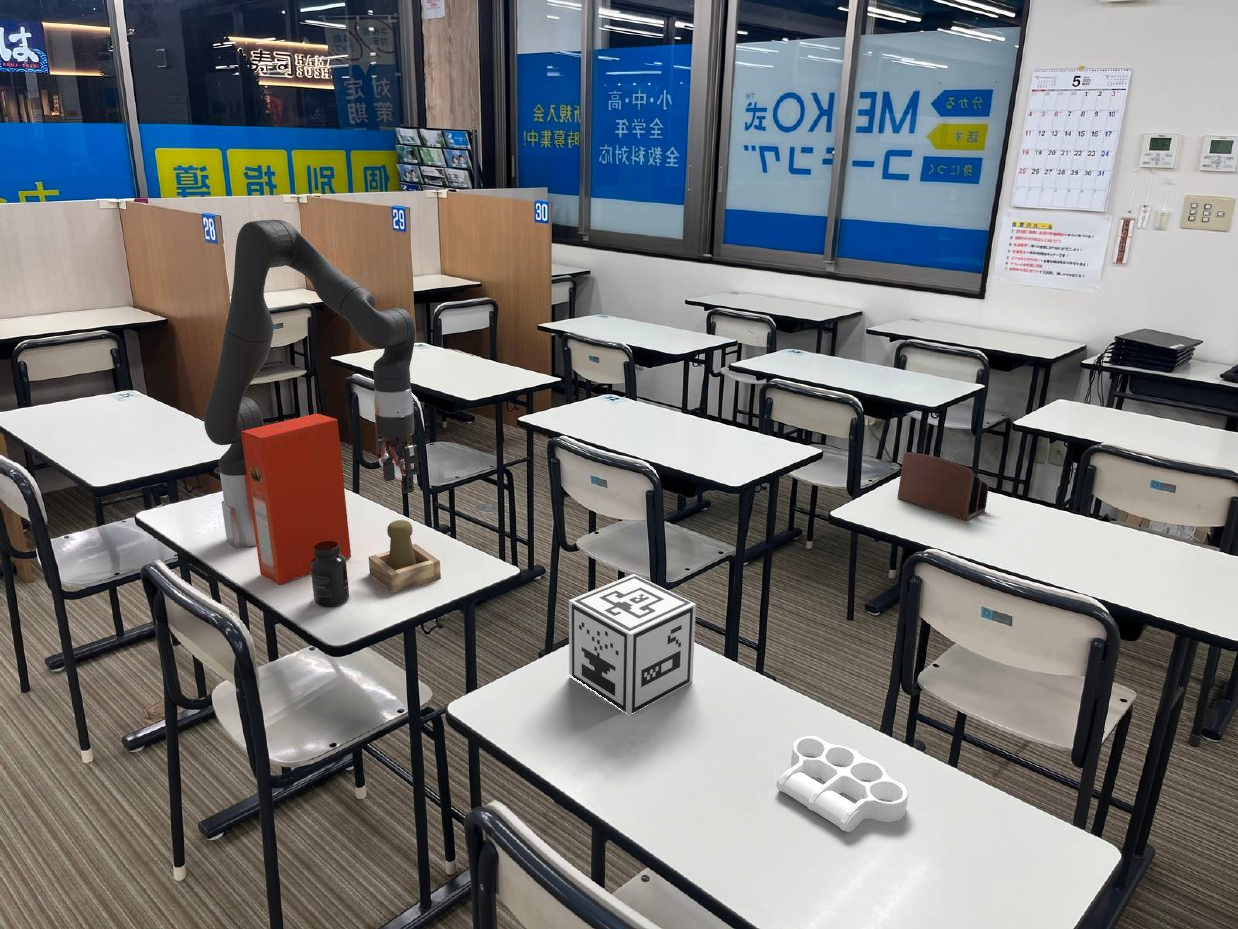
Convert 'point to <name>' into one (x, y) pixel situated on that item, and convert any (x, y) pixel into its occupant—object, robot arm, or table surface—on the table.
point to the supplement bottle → (329, 575)
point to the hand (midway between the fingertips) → (398, 486)
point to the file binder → (295, 493)
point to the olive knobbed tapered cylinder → (400, 545)
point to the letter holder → (942, 486)
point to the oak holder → (405, 570)
